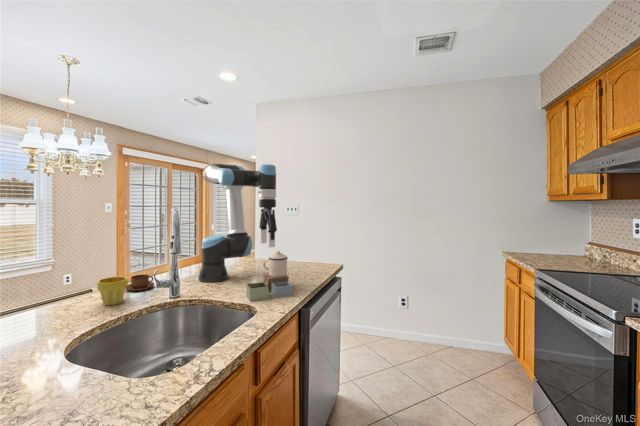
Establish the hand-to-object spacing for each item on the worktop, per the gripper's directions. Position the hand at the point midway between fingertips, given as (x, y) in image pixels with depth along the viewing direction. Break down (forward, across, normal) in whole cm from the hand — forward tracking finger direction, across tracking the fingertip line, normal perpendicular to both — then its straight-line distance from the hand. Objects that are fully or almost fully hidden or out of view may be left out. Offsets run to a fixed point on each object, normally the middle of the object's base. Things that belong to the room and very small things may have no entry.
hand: (267, 245), depth 137 cm
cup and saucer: (+23, -32, -54) cm, 67 cm away
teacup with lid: (+16, -6, +6) cm, 18 cm away
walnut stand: (+23, -6, +6) cm, 24 cm away
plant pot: (+23, -15, -62) cm, 67 cm away
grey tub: (+23, +4, +6) cm, 24 cm away
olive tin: (+23, +4, -6) cm, 24 cm away
